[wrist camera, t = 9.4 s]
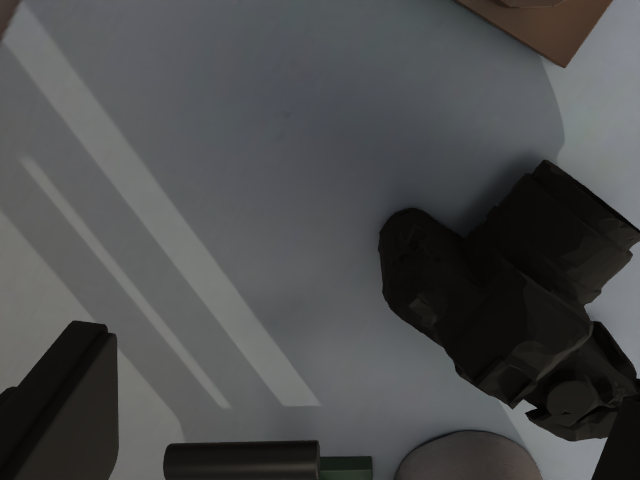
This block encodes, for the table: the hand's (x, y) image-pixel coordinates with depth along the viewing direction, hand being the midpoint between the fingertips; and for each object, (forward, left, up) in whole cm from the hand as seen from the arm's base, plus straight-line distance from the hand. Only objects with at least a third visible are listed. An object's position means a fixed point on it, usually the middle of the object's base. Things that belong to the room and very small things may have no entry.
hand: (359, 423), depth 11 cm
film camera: (+10, +3, -22) cm, 24 cm away
